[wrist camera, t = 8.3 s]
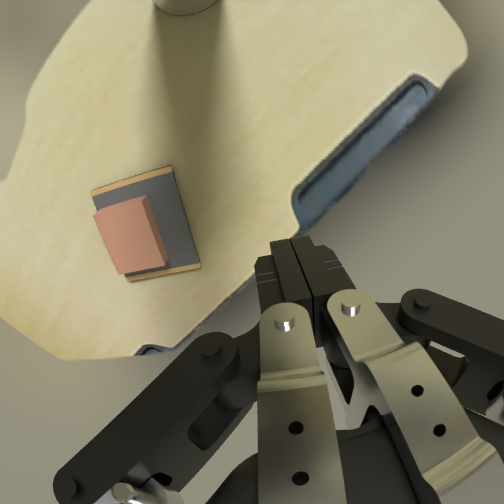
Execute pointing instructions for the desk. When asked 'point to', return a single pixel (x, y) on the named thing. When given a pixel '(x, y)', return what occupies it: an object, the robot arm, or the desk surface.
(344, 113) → the desk surface
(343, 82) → the desk surface
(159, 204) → the mat
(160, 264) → the slab
